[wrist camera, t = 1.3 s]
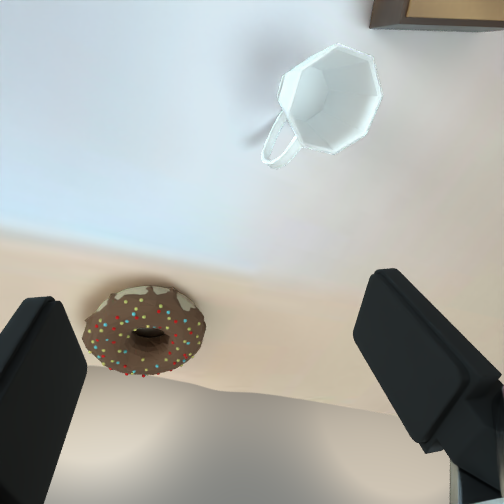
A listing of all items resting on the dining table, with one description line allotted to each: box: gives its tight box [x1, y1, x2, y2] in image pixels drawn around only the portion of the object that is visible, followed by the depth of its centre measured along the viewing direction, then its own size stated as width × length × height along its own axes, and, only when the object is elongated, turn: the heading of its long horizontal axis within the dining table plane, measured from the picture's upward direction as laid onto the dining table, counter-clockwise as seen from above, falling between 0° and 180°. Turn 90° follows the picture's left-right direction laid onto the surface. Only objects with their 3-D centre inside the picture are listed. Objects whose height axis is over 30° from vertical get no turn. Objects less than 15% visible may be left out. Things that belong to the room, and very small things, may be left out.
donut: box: [82, 286, 206, 377], centre depth 37 cm, size 14×14×5 cm
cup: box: [261, 43, 383, 169], centre depth 24 cm, size 7×10×8 cm
